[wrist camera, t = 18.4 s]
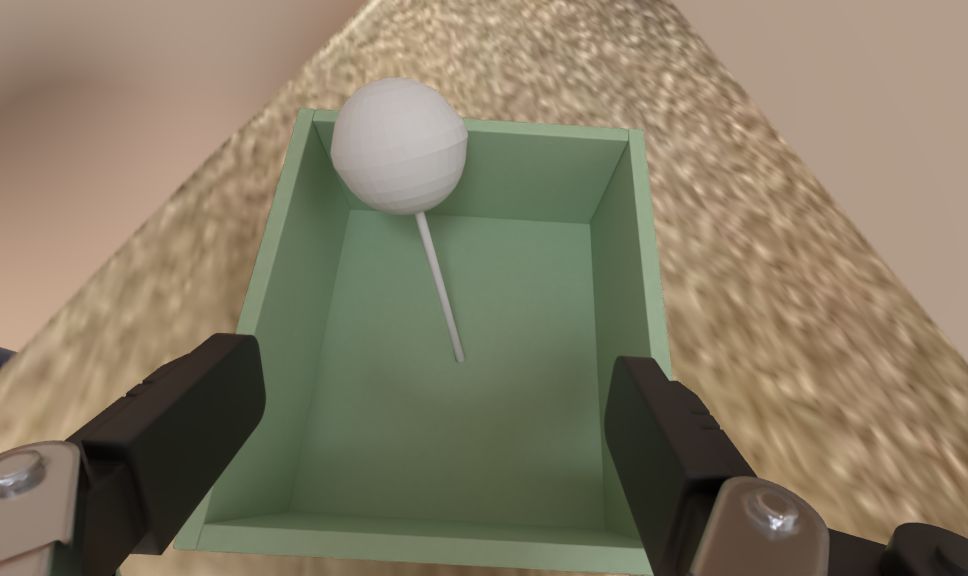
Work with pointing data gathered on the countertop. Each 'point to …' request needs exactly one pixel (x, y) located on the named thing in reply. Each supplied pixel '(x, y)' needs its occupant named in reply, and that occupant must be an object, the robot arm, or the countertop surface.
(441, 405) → the bin
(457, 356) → the lollipop
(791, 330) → the countertop surface
